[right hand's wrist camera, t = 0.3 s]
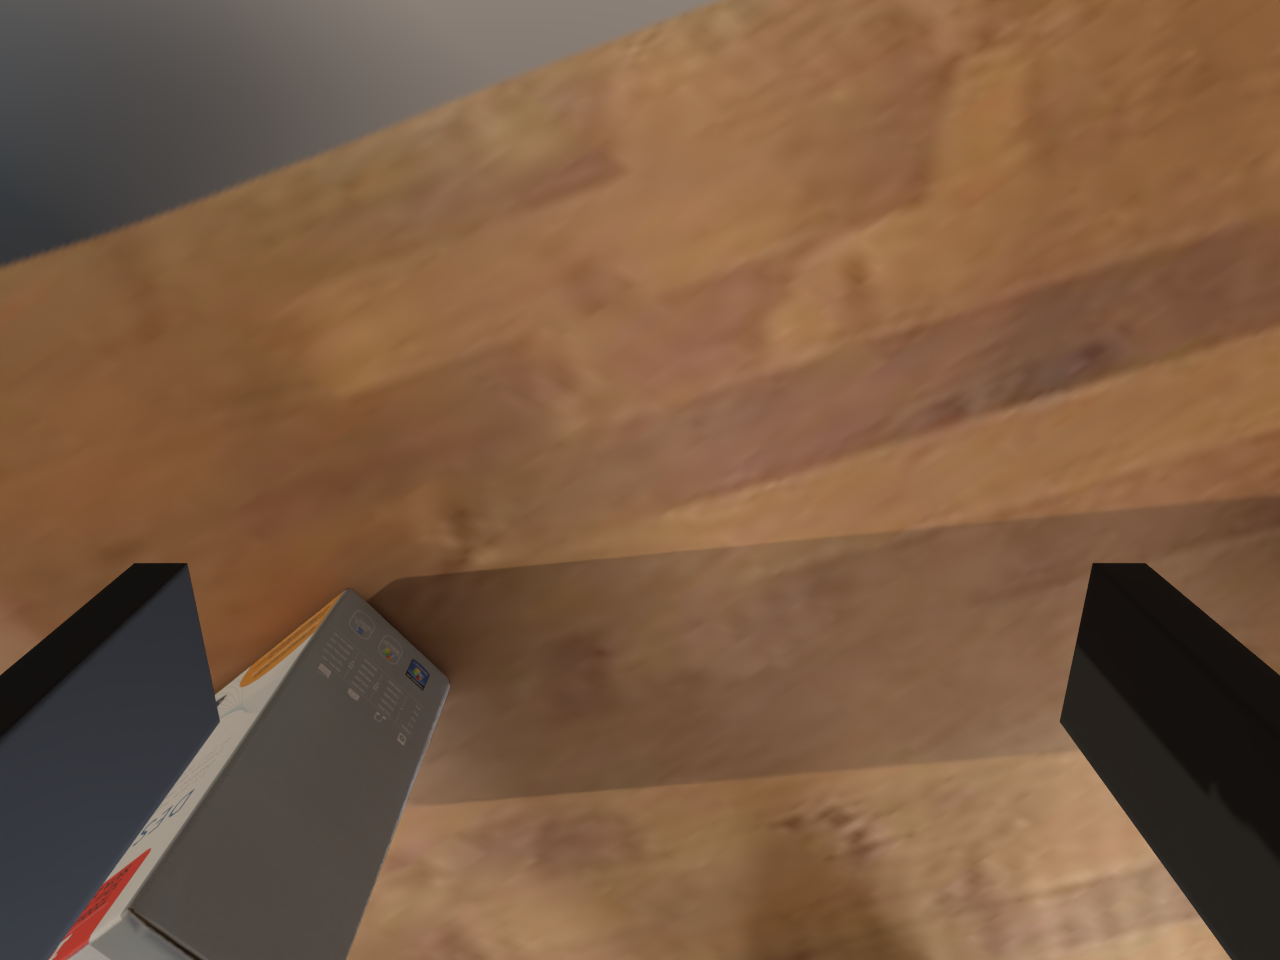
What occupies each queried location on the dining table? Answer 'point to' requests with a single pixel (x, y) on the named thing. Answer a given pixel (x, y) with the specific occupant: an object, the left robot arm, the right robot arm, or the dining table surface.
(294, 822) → the hard drive box
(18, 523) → the dining table surface
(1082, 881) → the dining table surface
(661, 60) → the dining table surface
